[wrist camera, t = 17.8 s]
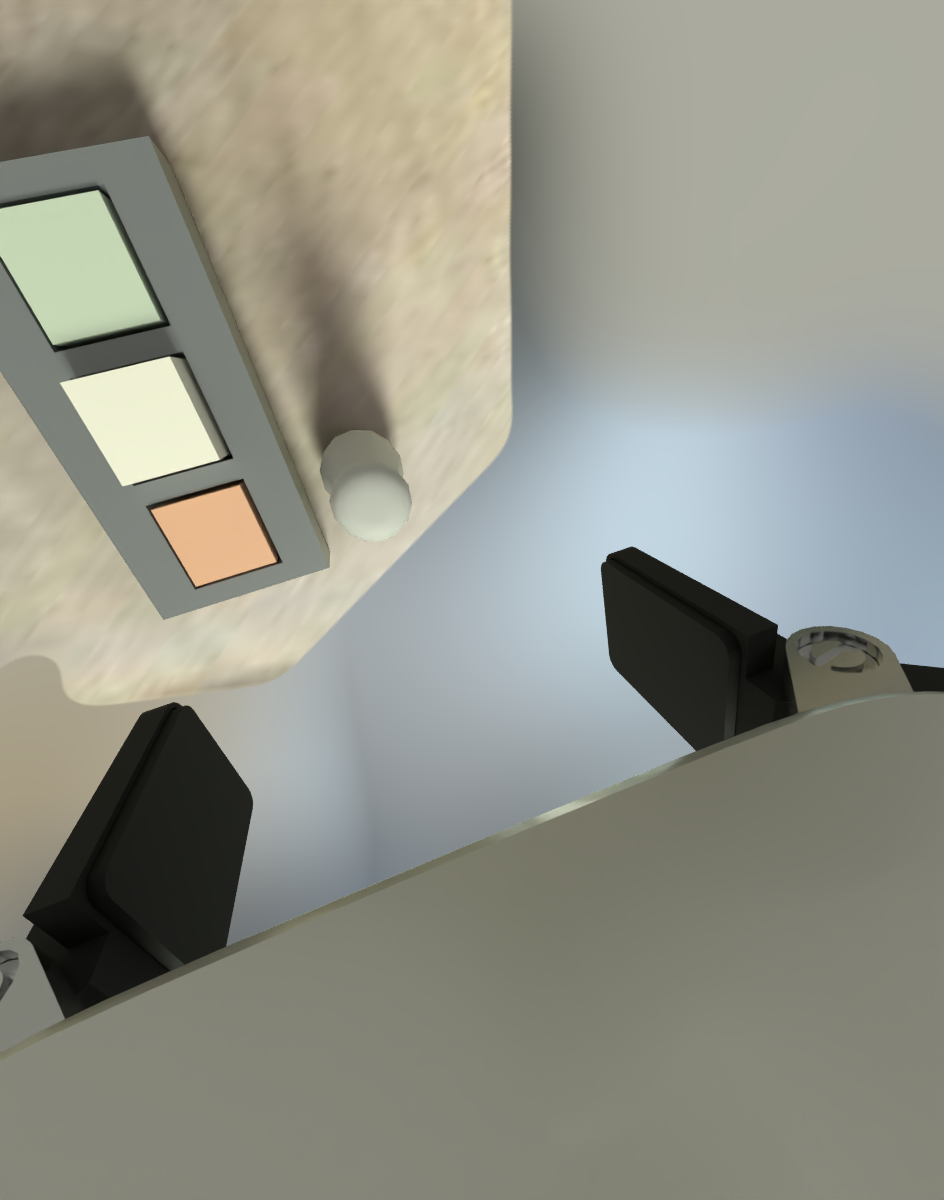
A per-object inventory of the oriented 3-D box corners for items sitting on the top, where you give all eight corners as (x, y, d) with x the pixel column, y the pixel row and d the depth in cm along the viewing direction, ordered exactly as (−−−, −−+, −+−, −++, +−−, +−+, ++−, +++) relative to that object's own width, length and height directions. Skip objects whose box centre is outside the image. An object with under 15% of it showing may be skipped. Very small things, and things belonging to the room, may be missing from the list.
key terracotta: (168, 497, 32) (150, 510, 29) (248, 475, 33) (239, 485, 29) (208, 568, 34) (196, 586, 31) (281, 546, 35) (276, 561, 32)
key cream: (91, 383, 27) (59, 382, 24) (188, 359, 28) (169, 356, 24) (145, 475, 29) (122, 486, 26) (231, 452, 30) (219, 459, 27)
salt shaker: (353, 409, 33) (363, 421, 22) (413, 462, 36) (450, 498, 24) (305, 472, 34) (290, 515, 22) (367, 519, 36) (382, 579, 25)
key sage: (20, 235, 25) (-25, 213, 22) (127, 214, 25) (98, 190, 22) (85, 349, 27) (52, 344, 24) (179, 327, 28) (160, 320, 25)
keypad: (-63, 209, 24) (-123, 183, 21) (171, 166, 25) (148, 135, 22) (178, 598, 35) (163, 619, 32) (329, 551, 37) (329, 567, 34)
